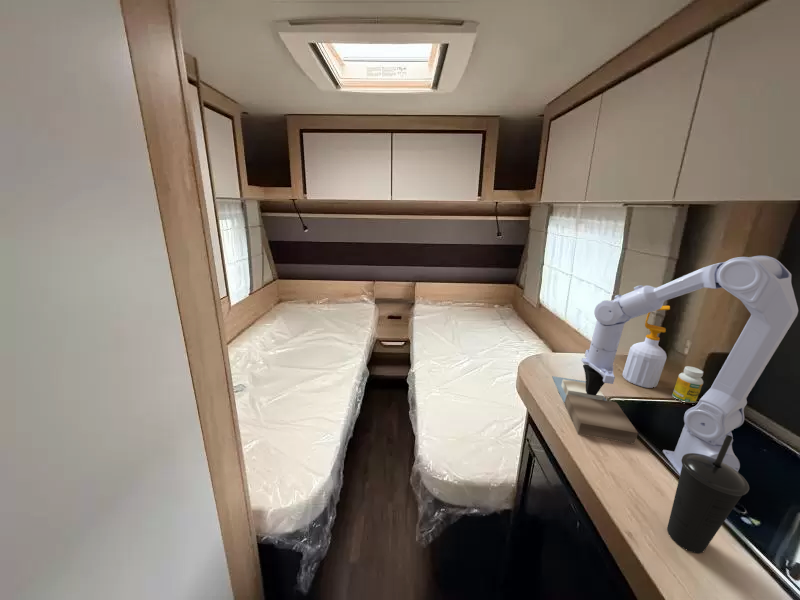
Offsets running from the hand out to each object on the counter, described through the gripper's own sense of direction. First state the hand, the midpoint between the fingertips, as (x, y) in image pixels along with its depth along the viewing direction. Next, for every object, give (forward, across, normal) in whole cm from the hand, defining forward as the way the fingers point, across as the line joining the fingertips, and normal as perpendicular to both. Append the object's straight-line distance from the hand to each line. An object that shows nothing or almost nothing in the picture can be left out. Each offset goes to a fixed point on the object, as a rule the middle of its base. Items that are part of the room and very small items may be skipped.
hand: (590, 393), depth 88 cm
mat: (+4, -6, 0) cm, 8 cm away
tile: (+2, -6, 0) cm, 6 cm away
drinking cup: (+4, +36, +4) cm, 36 cm away
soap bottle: (+4, -20, +21) cm, 29 cm away
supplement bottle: (+4, -12, +29) cm, 32 cm away
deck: (+4, +7, 0) cm, 8 cm away
